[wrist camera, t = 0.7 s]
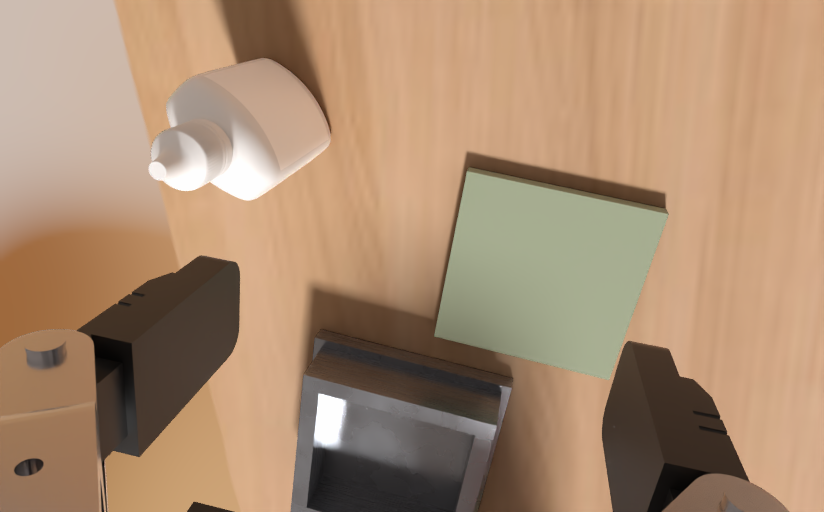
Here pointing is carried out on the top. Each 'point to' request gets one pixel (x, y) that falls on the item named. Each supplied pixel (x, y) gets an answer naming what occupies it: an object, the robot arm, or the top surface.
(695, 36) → the top surface
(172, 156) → the eye dropper bottle
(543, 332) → the rubber mat
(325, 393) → the socket block
